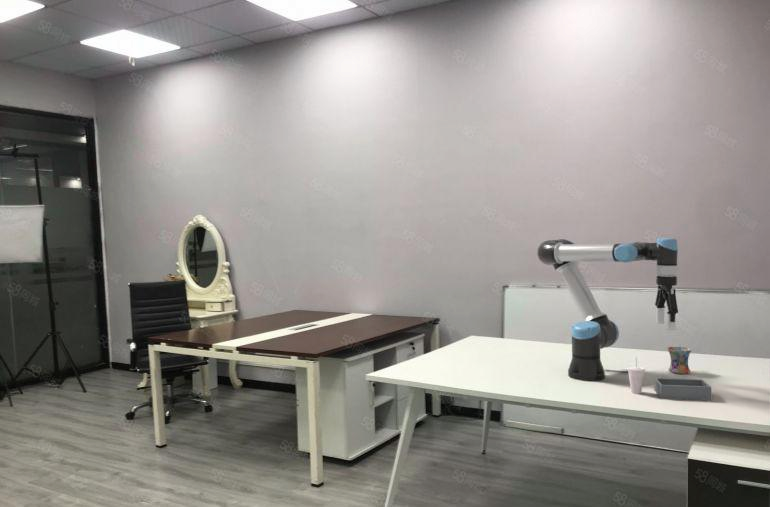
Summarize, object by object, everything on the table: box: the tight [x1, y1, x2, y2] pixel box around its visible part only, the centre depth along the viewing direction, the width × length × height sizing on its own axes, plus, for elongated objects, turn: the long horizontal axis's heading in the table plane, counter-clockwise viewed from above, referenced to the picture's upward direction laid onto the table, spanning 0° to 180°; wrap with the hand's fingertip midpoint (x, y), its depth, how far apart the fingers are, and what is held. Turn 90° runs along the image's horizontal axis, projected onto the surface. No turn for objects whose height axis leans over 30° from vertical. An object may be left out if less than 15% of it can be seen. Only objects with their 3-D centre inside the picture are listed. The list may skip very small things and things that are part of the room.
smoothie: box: [626, 357, 646, 395], centre depth 218 cm, size 6×6×14 cm
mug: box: [667, 346, 692, 375], centre depth 246 cm, size 12×9×11 cm
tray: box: [653, 377, 712, 401], centre depth 213 cm, size 17×10×5 cm, turn 77°
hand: (665, 326), depth 230 cm, fingers open, 13 cm apart
